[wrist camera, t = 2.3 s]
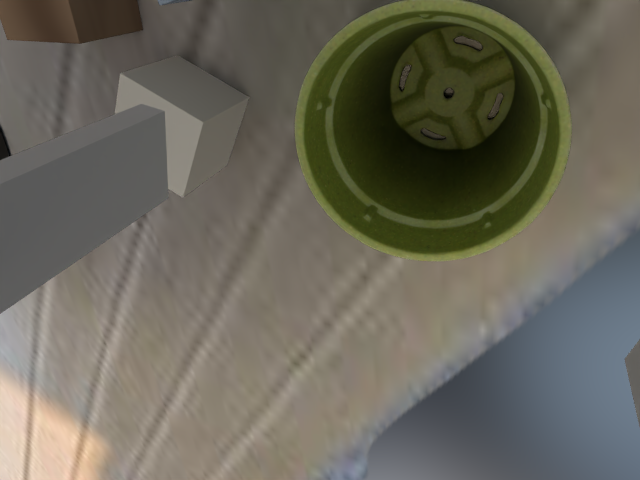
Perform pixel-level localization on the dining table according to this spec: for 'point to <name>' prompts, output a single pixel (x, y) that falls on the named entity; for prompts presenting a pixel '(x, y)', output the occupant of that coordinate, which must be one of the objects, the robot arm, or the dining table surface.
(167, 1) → the slate blue block
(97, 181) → the robot arm
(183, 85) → the cream block
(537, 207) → the plant pot
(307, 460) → the dining table surface
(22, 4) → the walnut block
